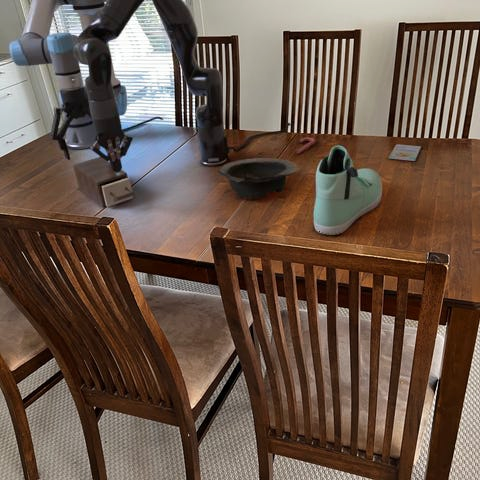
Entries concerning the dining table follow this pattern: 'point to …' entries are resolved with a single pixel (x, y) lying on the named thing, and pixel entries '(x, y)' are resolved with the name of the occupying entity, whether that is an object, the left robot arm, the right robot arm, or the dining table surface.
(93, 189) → the cabinet
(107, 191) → the drawer
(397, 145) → the baking ingredient package
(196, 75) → the right robot arm
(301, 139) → the candy cane
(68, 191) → the dining table surface
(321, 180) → the sneaker
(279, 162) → the stone bowl
